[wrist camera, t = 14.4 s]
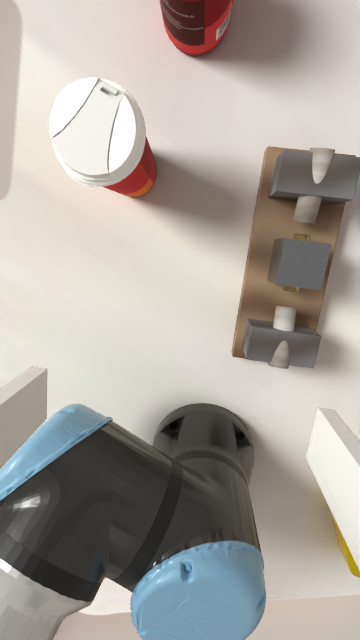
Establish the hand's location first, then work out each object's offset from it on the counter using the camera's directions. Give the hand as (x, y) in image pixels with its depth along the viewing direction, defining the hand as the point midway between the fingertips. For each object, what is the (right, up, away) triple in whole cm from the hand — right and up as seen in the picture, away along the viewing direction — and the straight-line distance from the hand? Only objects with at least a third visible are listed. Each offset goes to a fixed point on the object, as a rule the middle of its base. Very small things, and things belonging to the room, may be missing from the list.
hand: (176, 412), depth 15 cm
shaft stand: (+14, +12, +26) cm, 32 cm away
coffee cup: (-6, +23, +25) cm, 35 cm away
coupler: (+14, +12, +24) cm, 30 cm away
